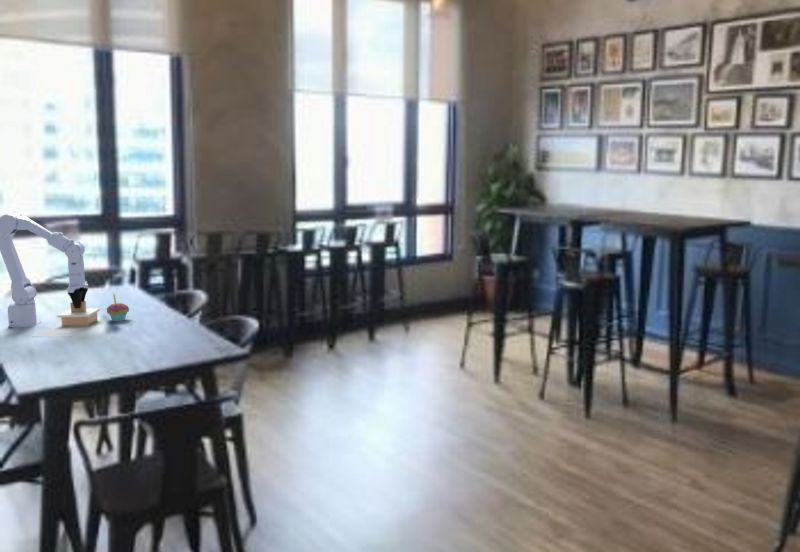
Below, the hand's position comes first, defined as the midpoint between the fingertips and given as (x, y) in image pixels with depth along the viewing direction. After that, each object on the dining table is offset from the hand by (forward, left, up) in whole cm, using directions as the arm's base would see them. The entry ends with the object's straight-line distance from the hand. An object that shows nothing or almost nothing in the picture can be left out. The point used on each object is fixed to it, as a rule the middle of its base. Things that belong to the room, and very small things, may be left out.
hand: (79, 307), depth 297 cm
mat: (-2, -15, -7) cm, 17 cm away
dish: (0, 0, -7) cm, 7 cm away
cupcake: (+13, +6, -7) cm, 16 cm away
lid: (0, 0, -3) cm, 3 cm away
